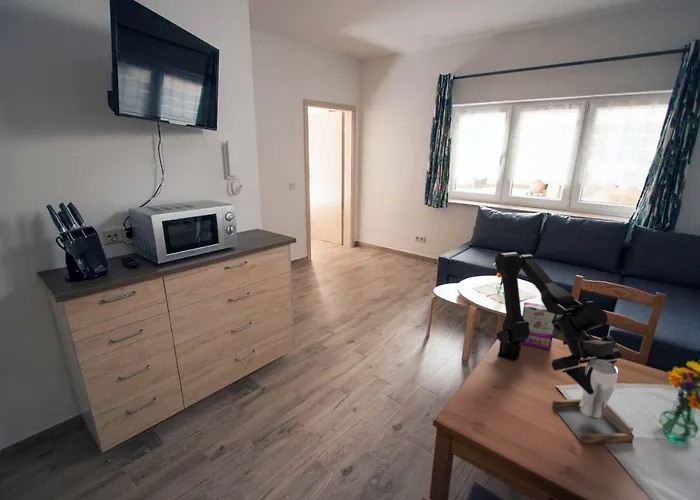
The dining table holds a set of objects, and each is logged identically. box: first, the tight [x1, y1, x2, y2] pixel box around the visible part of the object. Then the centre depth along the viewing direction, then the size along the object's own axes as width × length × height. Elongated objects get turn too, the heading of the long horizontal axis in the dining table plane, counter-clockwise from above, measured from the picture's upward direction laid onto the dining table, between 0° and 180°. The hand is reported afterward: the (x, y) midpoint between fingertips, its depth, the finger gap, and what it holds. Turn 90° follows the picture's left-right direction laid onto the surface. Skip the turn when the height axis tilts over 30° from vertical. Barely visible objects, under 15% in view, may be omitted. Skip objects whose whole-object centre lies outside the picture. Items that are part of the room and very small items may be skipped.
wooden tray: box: [551, 398, 635, 445], centre depth 95 cm, size 13×13×4 cm
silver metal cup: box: [579, 359, 619, 420], centre depth 92 cm, size 7×7×15 cm
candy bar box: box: [520, 301, 557, 351], centre depth 132 cm, size 11×5×16 cm, turn 62°
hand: (601, 392), depth 91 cm, fingers closed on silver metal cup, 6 cm apart
